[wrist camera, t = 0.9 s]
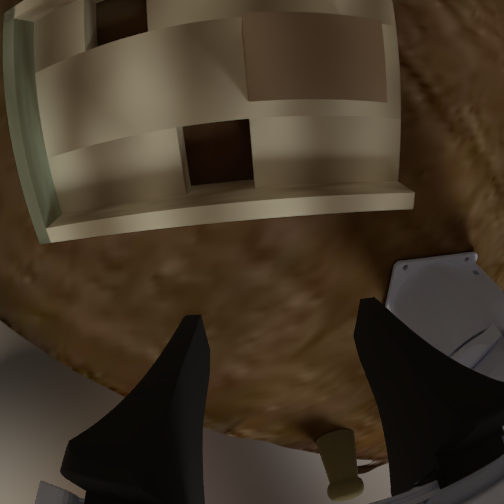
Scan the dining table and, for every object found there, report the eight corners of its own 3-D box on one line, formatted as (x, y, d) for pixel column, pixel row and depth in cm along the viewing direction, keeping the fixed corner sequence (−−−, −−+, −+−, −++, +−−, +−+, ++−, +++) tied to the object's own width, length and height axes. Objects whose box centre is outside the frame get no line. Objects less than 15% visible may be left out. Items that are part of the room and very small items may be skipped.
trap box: (373, -31, 11) (400, -50, 7) (385, 187, 19) (412, 209, 15) (37, 19, 11) (4, 13, 8) (67, 218, 19) (40, 244, 16)
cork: (311, 446, 39) (320, 506, 29) (323, 431, 36) (335, 497, 26) (345, 443, 39) (357, 500, 30) (360, 427, 36) (376, 489, 27)
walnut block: (351, 34, 12) (381, 20, 9) (355, 99, 14) (387, 102, 11) (241, 32, 12) (241, 13, 9) (247, 100, 14) (249, 101, 11)
